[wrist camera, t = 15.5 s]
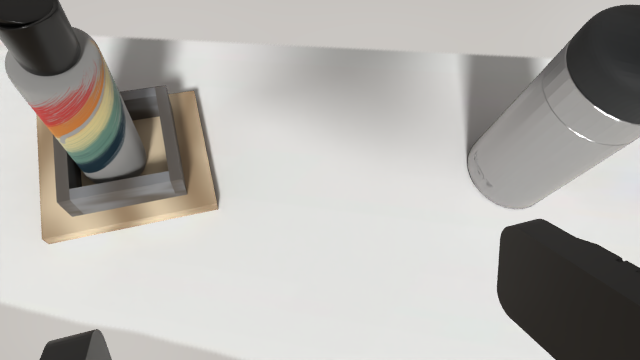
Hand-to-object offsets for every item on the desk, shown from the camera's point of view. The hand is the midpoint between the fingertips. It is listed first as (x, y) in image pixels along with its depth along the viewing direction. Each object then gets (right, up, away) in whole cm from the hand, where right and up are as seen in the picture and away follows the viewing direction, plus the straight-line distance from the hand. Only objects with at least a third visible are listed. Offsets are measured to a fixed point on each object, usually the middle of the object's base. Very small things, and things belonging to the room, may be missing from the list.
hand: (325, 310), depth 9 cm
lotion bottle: (-19, +4, +34) cm, 39 cm away
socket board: (-19, +4, +35) cm, 40 cm away
